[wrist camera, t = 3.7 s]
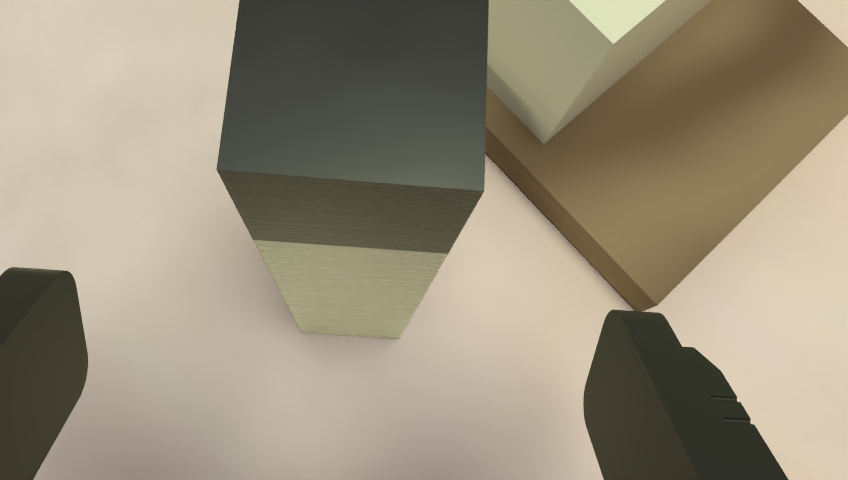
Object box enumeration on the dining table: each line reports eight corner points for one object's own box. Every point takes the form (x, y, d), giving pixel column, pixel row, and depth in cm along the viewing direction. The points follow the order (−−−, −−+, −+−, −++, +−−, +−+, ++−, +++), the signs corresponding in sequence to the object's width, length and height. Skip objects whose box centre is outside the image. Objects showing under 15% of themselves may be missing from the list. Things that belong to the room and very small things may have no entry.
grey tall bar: (301, 332, 21) (217, 170, 8) (313, 208, 22) (257, -128, 9) (399, 338, 21) (484, 191, 8) (406, 215, 22) (491, -100, 9)
